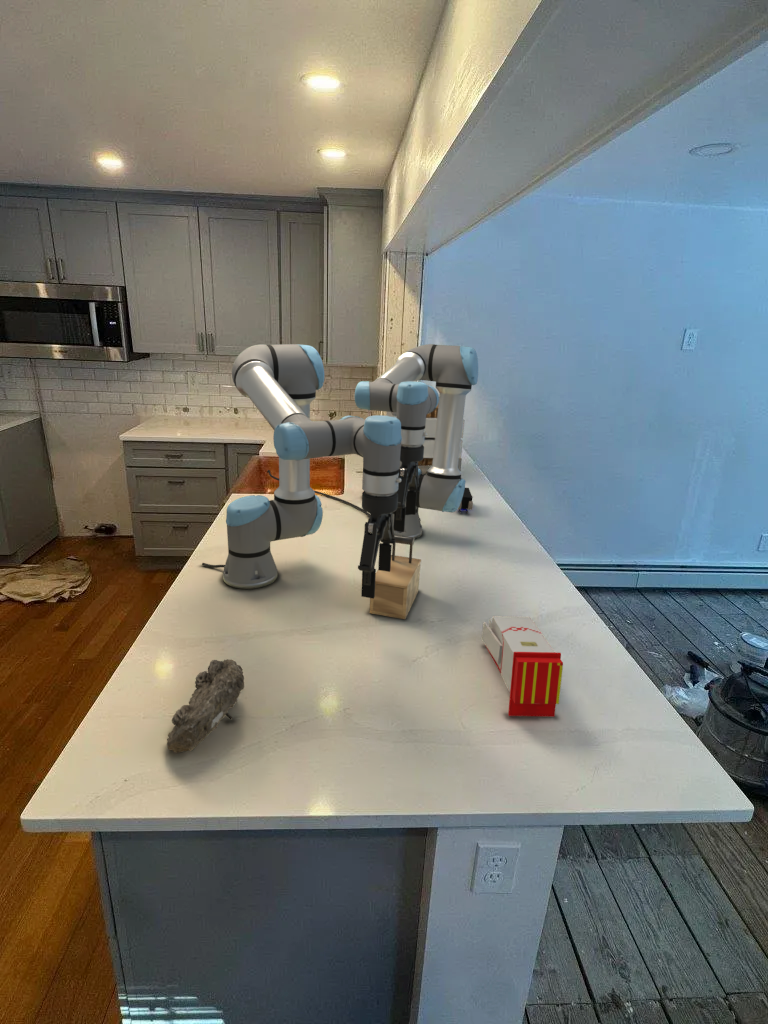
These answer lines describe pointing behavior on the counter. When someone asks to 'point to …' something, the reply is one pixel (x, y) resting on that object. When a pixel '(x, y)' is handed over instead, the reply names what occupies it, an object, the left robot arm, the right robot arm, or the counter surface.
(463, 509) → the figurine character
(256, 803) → the counter surface
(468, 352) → the right robot arm
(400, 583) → the lid
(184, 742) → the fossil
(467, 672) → the counter surface
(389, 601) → the chest
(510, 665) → the toy
